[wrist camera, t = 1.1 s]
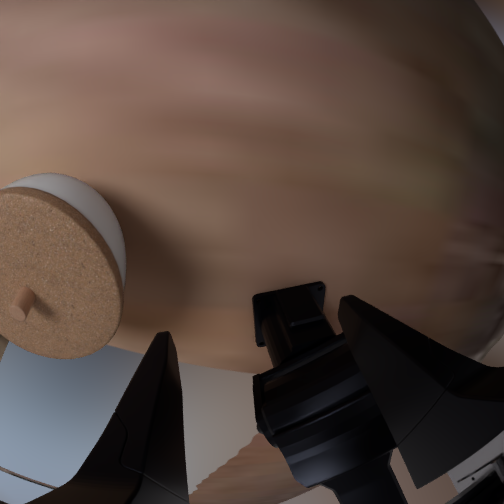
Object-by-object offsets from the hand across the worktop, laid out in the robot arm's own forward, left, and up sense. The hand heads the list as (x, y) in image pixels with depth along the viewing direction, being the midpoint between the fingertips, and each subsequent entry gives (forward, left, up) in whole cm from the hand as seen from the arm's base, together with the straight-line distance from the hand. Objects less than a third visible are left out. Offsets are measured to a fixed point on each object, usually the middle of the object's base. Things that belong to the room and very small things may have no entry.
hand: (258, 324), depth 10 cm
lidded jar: (0, +11, -12) cm, 16 cm away
